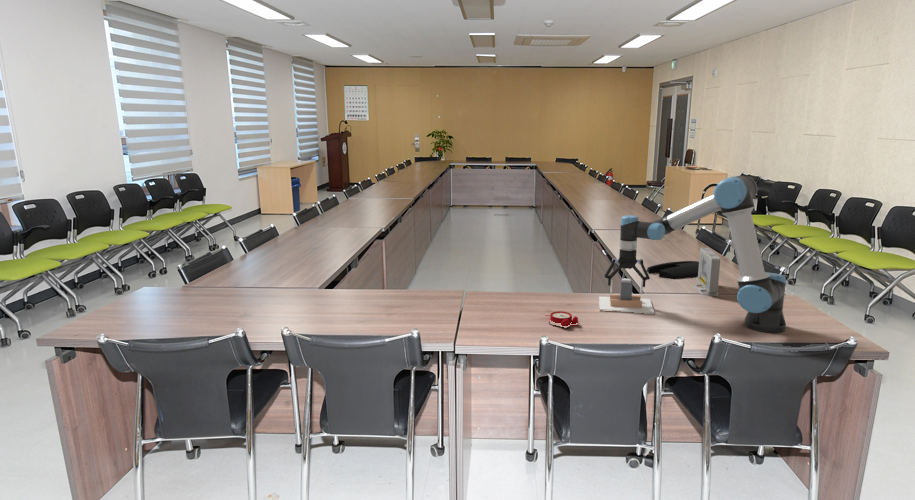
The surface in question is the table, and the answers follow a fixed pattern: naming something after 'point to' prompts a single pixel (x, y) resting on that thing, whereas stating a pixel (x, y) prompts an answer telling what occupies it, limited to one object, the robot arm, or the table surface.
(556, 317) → the alarm clock
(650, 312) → the end holder
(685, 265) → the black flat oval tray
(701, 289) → the network device
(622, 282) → the connector plug
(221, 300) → the table surface
